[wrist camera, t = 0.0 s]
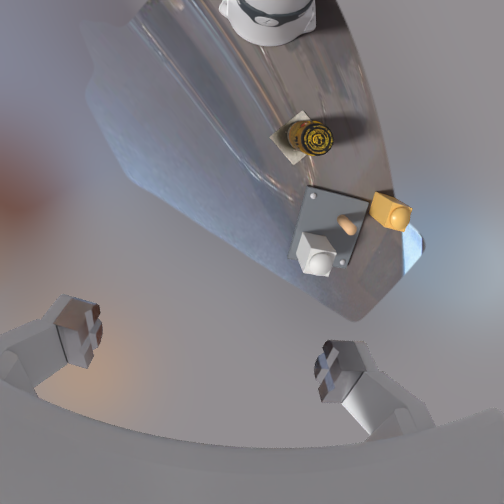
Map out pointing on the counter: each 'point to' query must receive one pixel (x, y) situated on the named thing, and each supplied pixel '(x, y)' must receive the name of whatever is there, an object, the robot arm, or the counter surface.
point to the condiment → (303, 138)
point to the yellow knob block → (390, 212)
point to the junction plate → (326, 230)
